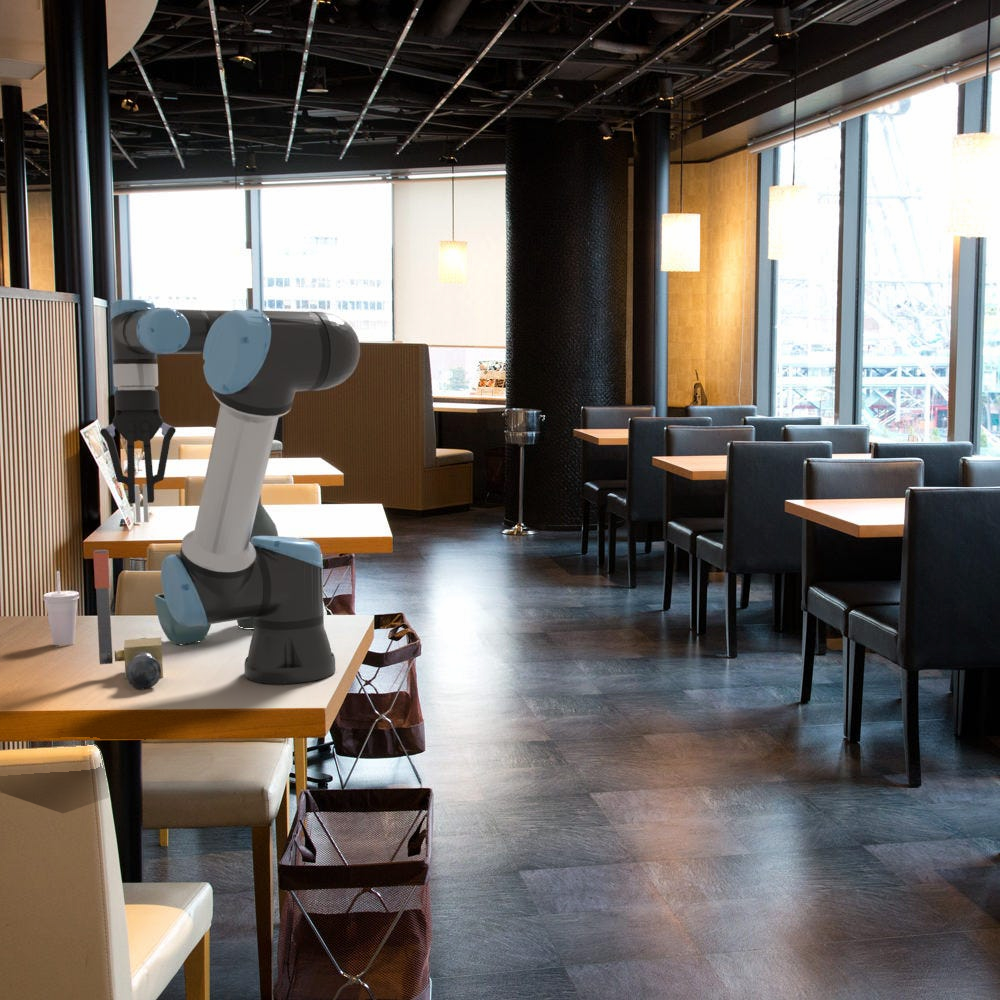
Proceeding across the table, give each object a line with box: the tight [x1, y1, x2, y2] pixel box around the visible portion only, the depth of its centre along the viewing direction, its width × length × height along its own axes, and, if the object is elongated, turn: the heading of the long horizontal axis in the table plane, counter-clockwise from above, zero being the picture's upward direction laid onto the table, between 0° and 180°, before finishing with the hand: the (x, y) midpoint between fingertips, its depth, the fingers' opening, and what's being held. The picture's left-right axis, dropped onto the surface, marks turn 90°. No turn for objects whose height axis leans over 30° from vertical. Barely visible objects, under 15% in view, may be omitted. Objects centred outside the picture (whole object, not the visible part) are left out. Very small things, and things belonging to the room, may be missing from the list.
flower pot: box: [153, 593, 212, 645], centre depth 227 cm, size 9×9×9 cm
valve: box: [114, 637, 164, 690], centre depth 200 cm, size 14×8×6 cm, turn 16°
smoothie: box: [42, 570, 80, 646], centre depth 225 cm, size 6×6×14 cm
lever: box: [92, 549, 114, 665], centre depth 200 cm, size 2×2×19 cm
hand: (142, 521), depth 214 cm, fingers closed
